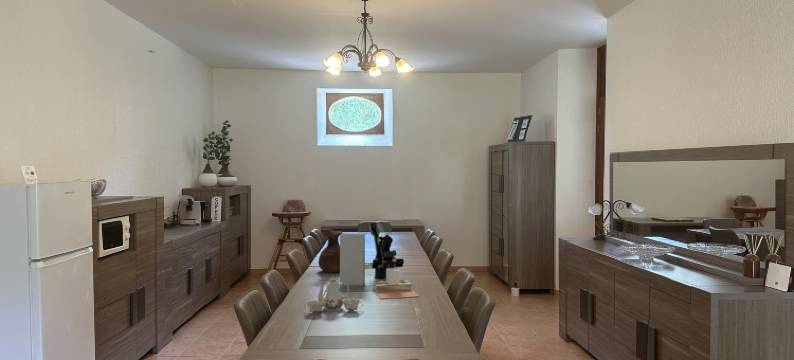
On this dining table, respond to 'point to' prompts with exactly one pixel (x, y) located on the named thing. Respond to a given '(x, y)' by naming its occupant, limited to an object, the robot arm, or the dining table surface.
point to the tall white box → (352, 259)
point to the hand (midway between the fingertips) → (390, 275)
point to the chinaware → (332, 299)
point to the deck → (391, 286)
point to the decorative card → (369, 266)
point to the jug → (331, 252)
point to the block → (392, 276)
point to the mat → (396, 294)
